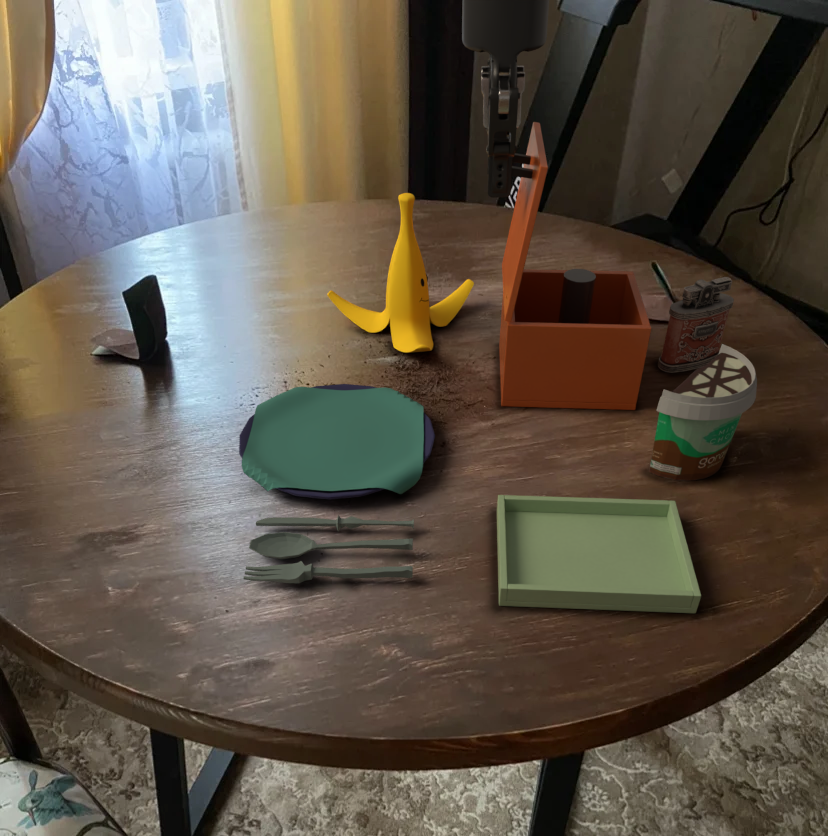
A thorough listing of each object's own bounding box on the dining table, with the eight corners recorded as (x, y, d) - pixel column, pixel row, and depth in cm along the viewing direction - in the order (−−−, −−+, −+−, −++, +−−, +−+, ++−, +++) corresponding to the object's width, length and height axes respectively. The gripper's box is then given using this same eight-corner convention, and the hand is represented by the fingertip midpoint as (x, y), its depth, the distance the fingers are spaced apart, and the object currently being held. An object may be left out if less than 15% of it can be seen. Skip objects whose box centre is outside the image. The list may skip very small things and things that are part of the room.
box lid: (540, 122, 85) (496, 115, 85) (548, 167, 75) (498, 159, 75) (507, 265, 96) (469, 259, 95) (511, 322, 86) (467, 315, 85)
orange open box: (619, 348, 102) (633, 271, 95) (635, 410, 92) (651, 328, 85) (499, 345, 102) (504, 268, 96) (501, 406, 92) (507, 325, 86)
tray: (670, 517, 78) (675, 500, 77) (695, 613, 69) (701, 595, 68) (496, 511, 79) (497, 494, 77) (498, 606, 70) (500, 588, 68)
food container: (697, 505, 79) (723, 417, 73) (640, 479, 82) (660, 391, 76) (756, 449, 86) (784, 363, 79) (701, 426, 89) (724, 341, 83)
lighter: (669, 375, 97) (687, 294, 90) (651, 362, 99) (668, 282, 93) (724, 361, 99) (746, 281, 93) (706, 348, 102) (726, 269, 95)
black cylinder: (581, 358, 98) (594, 268, 91) (584, 373, 96) (597, 282, 89) (552, 357, 99) (562, 268, 91) (554, 372, 96) (565, 281, 89)
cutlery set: (434, 398, 94) (434, 380, 92) (435, 590, 71) (436, 570, 70) (257, 397, 94) (254, 380, 92) (202, 588, 71) (197, 568, 70)
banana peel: (474, 303, 111) (480, 172, 100) (426, 374, 97) (427, 232, 86) (359, 285, 115) (352, 157, 104) (298, 350, 102) (283, 212, 91)
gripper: (555, -3, 66) (540, 212, 78) (545, -31, 77) (533, 161, 88) (461, -1, 67) (459, 213, 78) (464, -29, 78) (461, 162, 89)
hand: (498, 185), depth 83 cm, fingers closed on box lid, 5 cm apart
